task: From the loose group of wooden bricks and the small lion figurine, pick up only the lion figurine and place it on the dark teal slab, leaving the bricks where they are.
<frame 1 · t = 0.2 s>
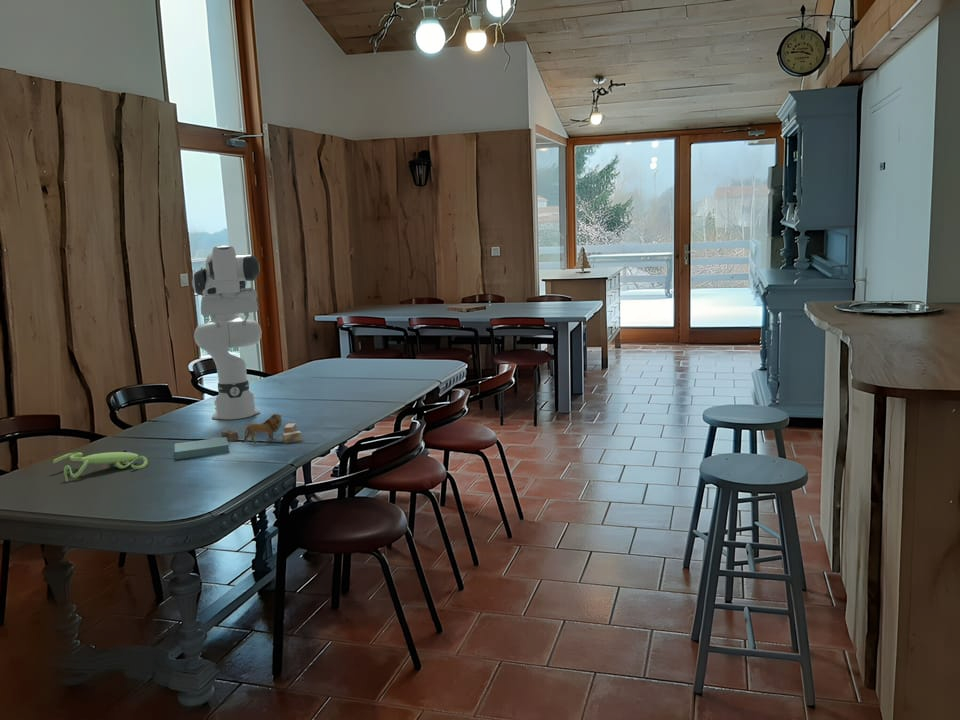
hand: (231, 326, 291), 39 cm above the table, tool pointing down, fingers open, 8 cm apart
teal slab: (202, 451, 267), on the table
lion figurine: (263, 441, 278), on the table
terracotta brick: (290, 433, 287), on the table
oak brick: (292, 441, 275), on the table
figurine: (100, 470, 251), on the table
walnut brick: (230, 440, 281), on the table
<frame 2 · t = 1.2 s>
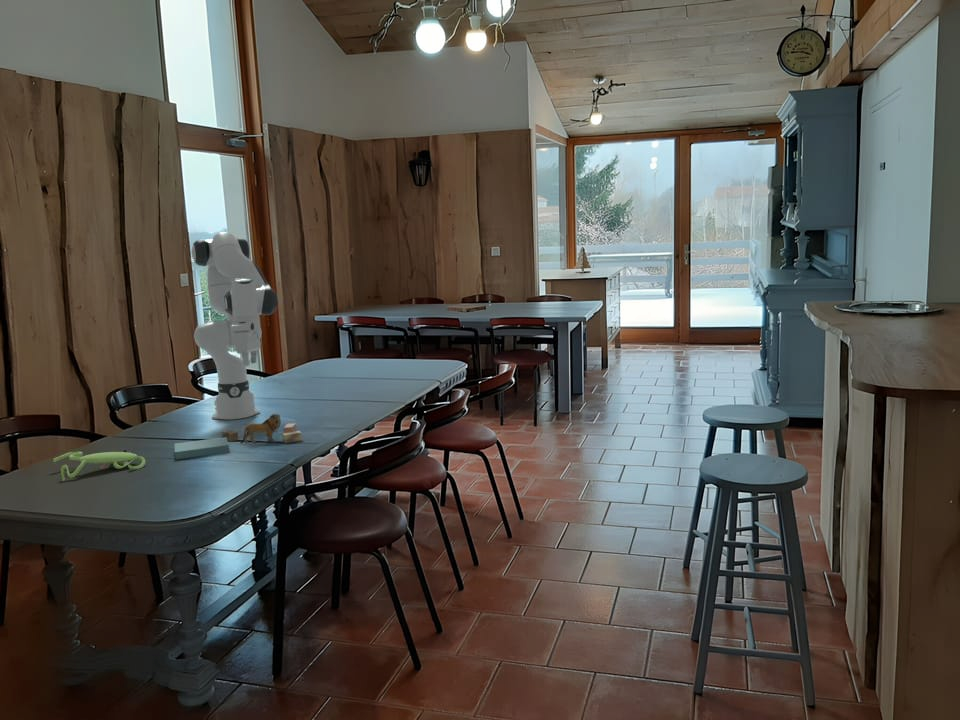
hand: (250, 364, 275), 27 cm above the table, tool pointing down, fingers open, 8 cm apart
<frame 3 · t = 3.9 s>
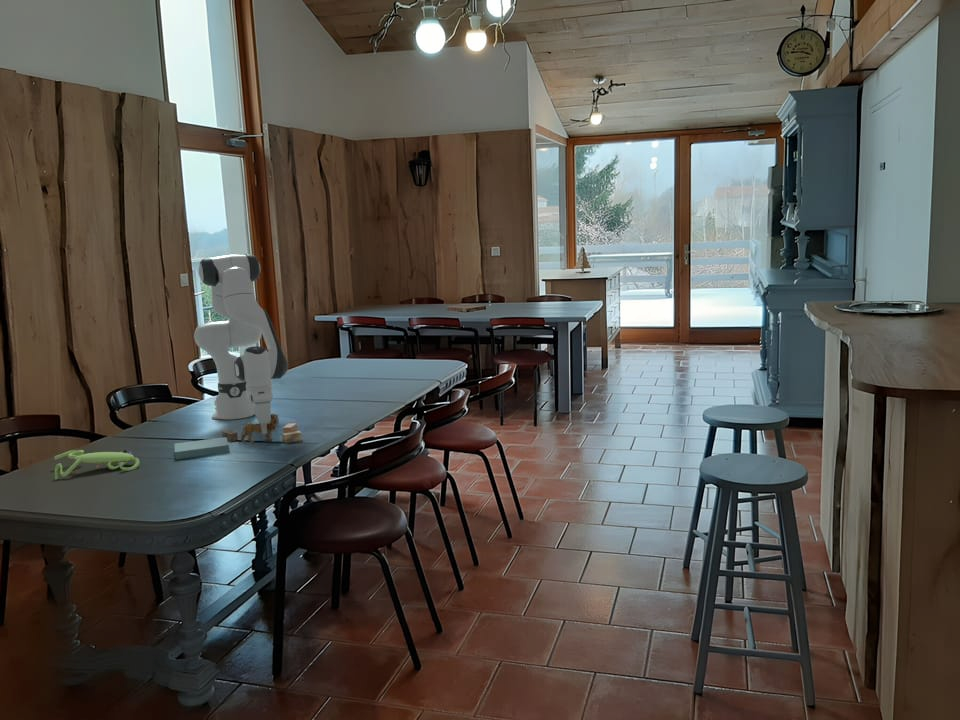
hand: (263, 431, 277), 3 cm above the table, tool pointing down, fingers closed on lion figurine, 4 cm apart
lion figurine: (261, 441, 277), on the table, touching gripper
figurine: (95, 469, 253), on the table
everything else where it was.
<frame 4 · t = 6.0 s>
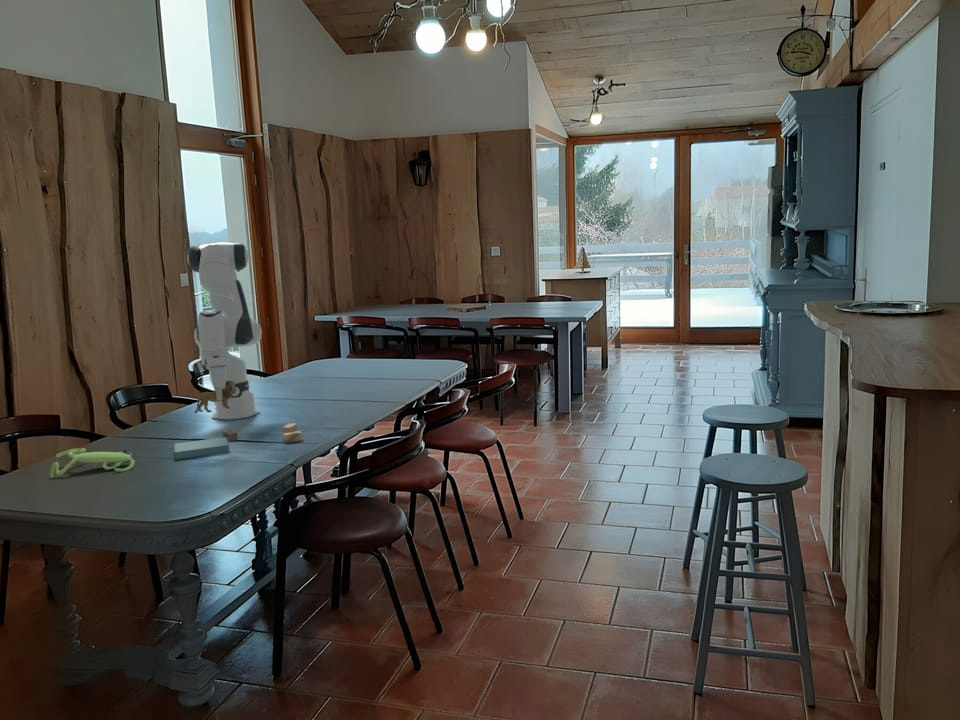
hand: (218, 398, 267), 17 cm above the table, tool pointing down, fingers closed on lion figurine, 4 cm apart
lion figurine: (218, 409, 268), point 13 cm above the table, touching gripper
figurine: (93, 469, 253), on the table
everything else where it was.
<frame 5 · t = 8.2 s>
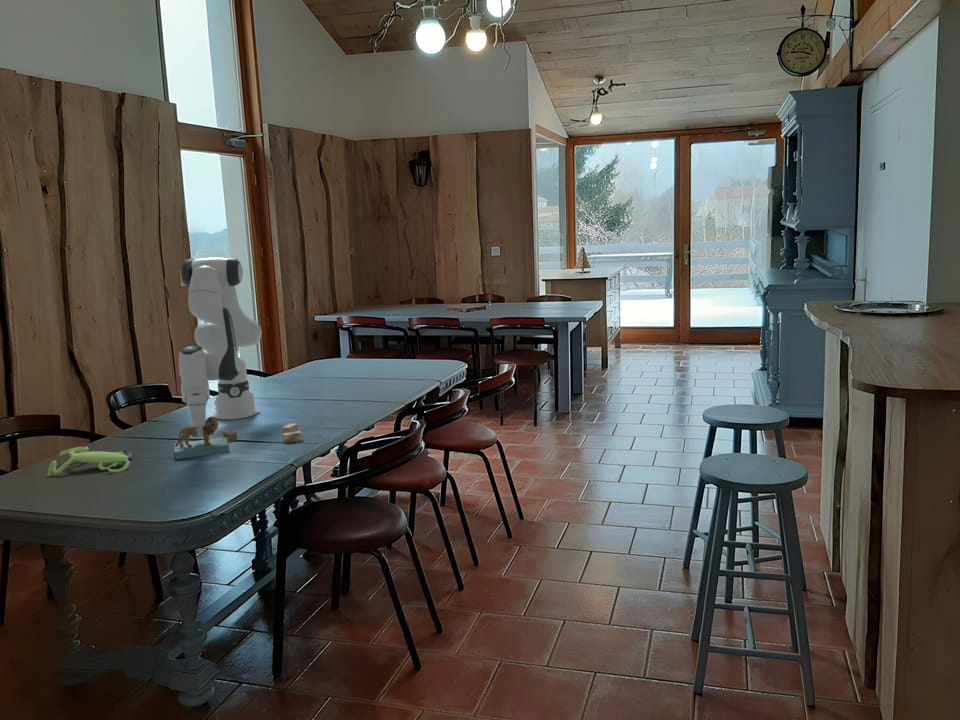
hand: (200, 434, 266), 6 cm above the table, tool pointing down, fingers closed on lion figurine, 4 cm apart
lion figurine: (199, 444, 266), point 2 cm above the table, touching gripper, teal slab
figurine: (92, 468, 254), on the table
everything else where it was.
when the fingers open (6 cm above the table, at t = 8.2 s): lion figurine stays where it is, resting on teal slab.
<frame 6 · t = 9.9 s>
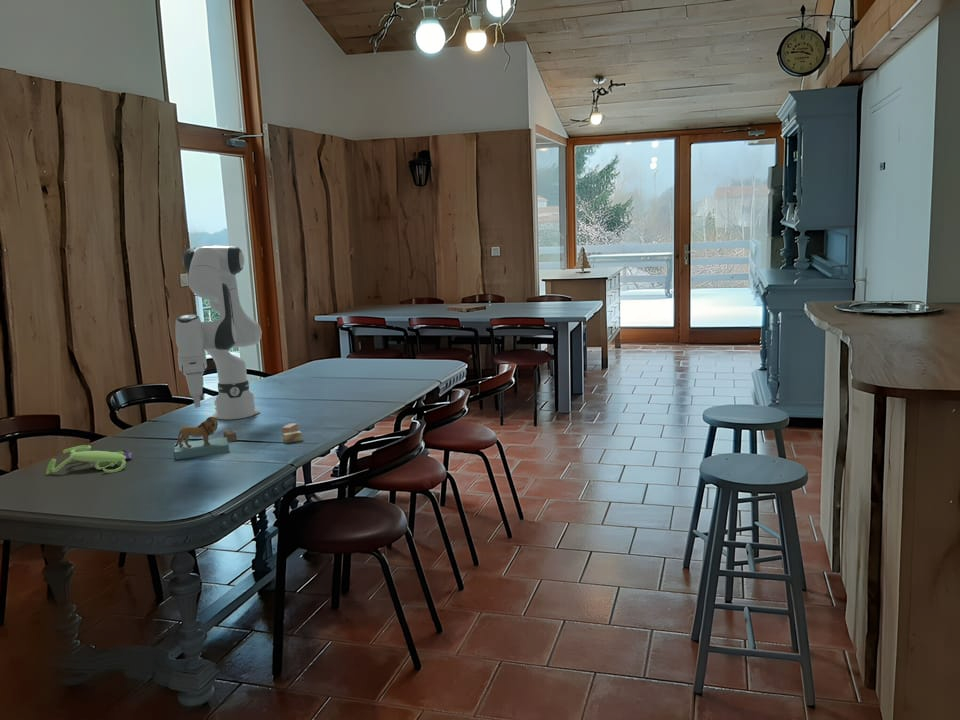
hand: (197, 404, 264), 16 cm above the table, tool pointing down, fingers open, 8 cm apart
lion figurine: (198, 444, 266), point 2 cm above the table, touching teal slab
figurine: (91, 467, 255), on the table
everything else where it was.
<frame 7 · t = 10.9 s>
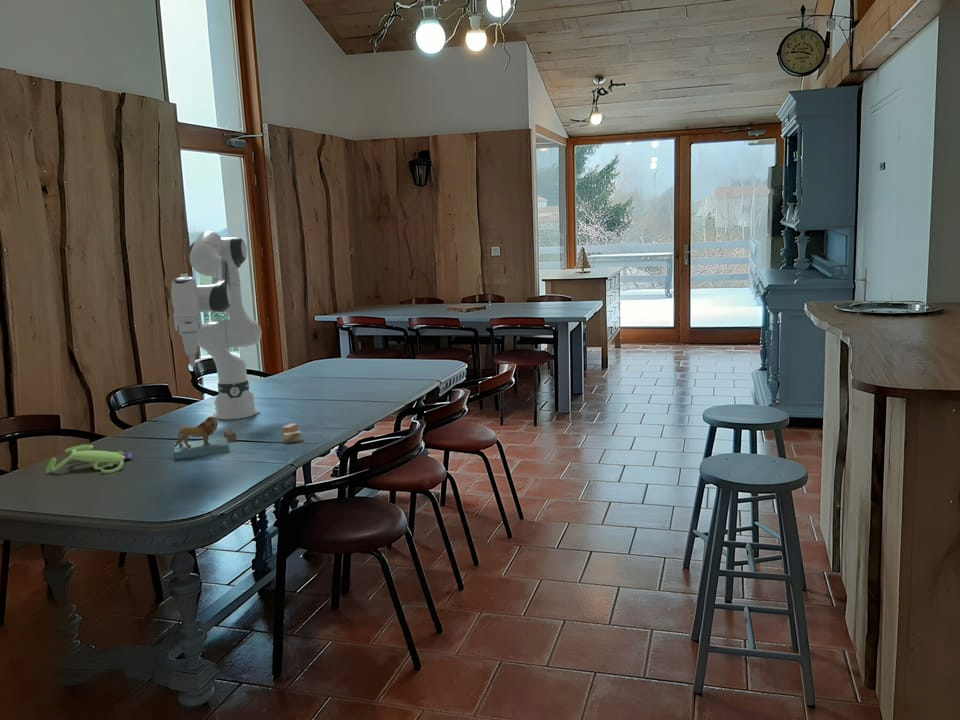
hand: (192, 363, 272), 29 cm above the table, tool pointing down, fingers open, 8 cm apart
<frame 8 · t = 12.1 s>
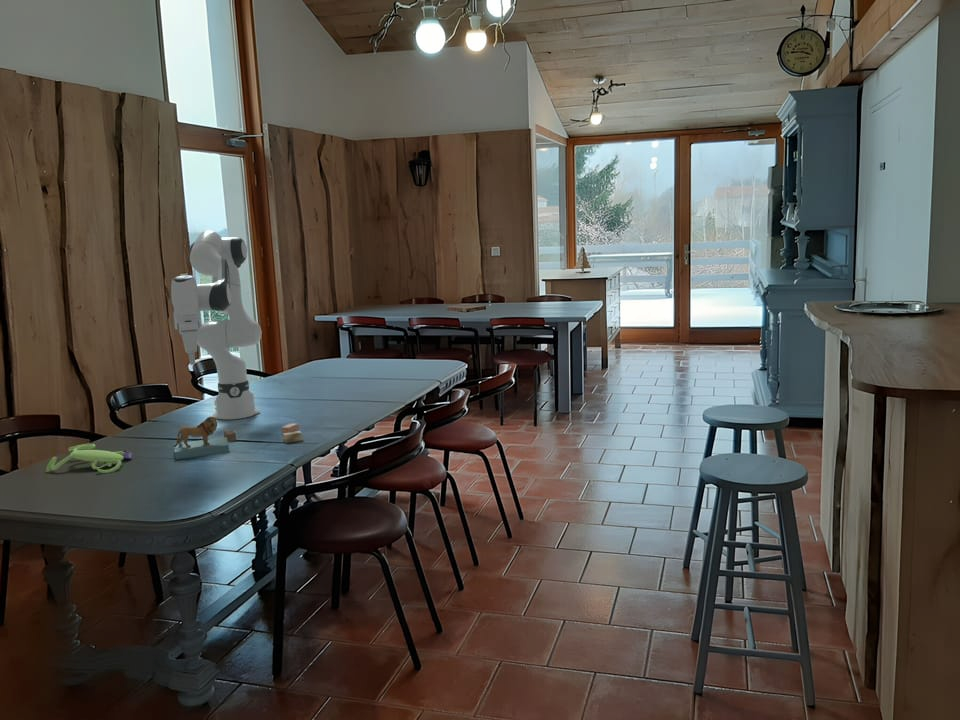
hand: (192, 362, 272), 29 cm above the table, tool pointing down, fingers open, 8 cm apart
at the end: lion figurine inside the target area on the teal slab (1.0 cm from its centre), point 2.3 cm above the teal slab's base; lion figurine touching teal slab; walnut brick moved 0.2 cm from its start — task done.
